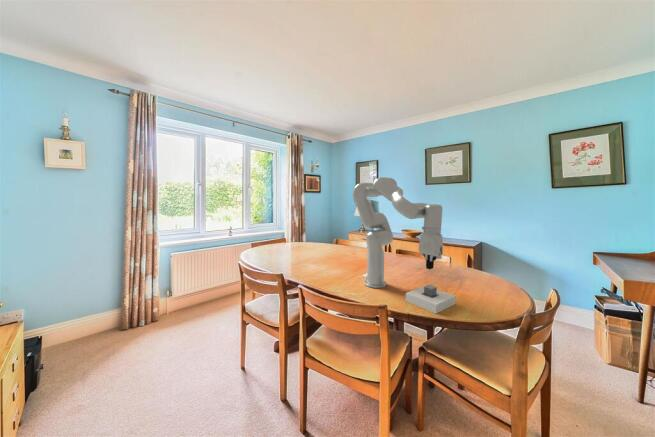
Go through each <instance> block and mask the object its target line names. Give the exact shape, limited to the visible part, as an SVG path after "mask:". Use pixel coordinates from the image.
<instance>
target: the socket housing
mask: <svg viewBox="0 0 655 437" xmlns="http://www.w3.org/2000/svg"><path fill="white" fill-rule="evenodd" d="M405 302H408V303H409V304H412V305H415V306H416V307H419V308H422V309H423V310H426V311H429V312H431V313H433V314H439V313H440V312H443V311H444V310H447V309H448V308H450V307H452V306H454V305H456V295H454V294H451V293H447V292H444V291H442V290H439V289H437V293H436V297H434V298H431V297H428V296H425V295H424V286H422V287H419V288H418V287H417V289H416V288H415V289H413V290H411V291H407V292H405Z"/></svg>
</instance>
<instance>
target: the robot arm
mask: <svg viewBox="0 0 655 437" xmlns="http://www.w3.org/2000/svg"><path fill="white" fill-rule="evenodd" d="M403 195H404V189H403V188H401V187H400V186H398V183H397V181H396V180H395V179H394V178H392V177H387V176H386V177H383V176H382V177H378V178H376V179H375V180H374V182H360V183H357V184H356V185H355V186H354V188H353V190H352V199H353V202H354V203H355V206H356V209H357V210H358V215H359V216H360V220H361V222H362V225H363V227H364V228H365V229H366V230H372V231H369V232H368V233H367V234H366V236H365V244H366V250H367V253H366V254H367V266H366V267H367V272H366V273H365V274H363V278H365V281H364V285H365V286H367V287H368V288H372V289H373V288H374V289H381V288H385V287H386V286H387V281H386V280H385V251H384V248H383V247H384V246H388V245H390V244H392V242H393V241H394V234H393V231H392V228H391V225H390V223H389V221H388V218H387V217H386V215H385V214H384V213H383V212H379V211H377V212H375V210H374V208H373V205H372V203H371V202H370V201H369V199H368V198H377V197H381V196H383V197H384V198H385V199H387V201H390V203H391V205H392V206H393V209H395V211H396V212H398V213H399V214H400V215H402V216H403V217H405V218H406V219H409V220H415V219H423V220H424V221H423V226H422V227H421V230H423V232H421V234H420V238H419V242H418V252H419V254H420V255H422V256H423V257H424V259H425V269H427V270H432V269H434V265H435V263H434V262H435V261H436V260H440V259H441V260H442V258H443V257H442V256H443V253H444V252H443V251H444V241H443V234H441V233H442V221H443V205H442V204H435V203H434V204H432V203H430V204H429V203H425V202H411V201H410V200H408V199H406V197H404V196H403ZM373 229H374V230H373Z"/></svg>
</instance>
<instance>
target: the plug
mask: <svg viewBox="0 0 655 437" xmlns="http://www.w3.org/2000/svg"><path fill="white" fill-rule="evenodd" d="M423 287H424V295H425V296H428V297H431V298H434V297H436V293H437V290H438V289H437V288H438V287H437V286H435V285H432V284H426V285H424V286H423Z"/></svg>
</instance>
